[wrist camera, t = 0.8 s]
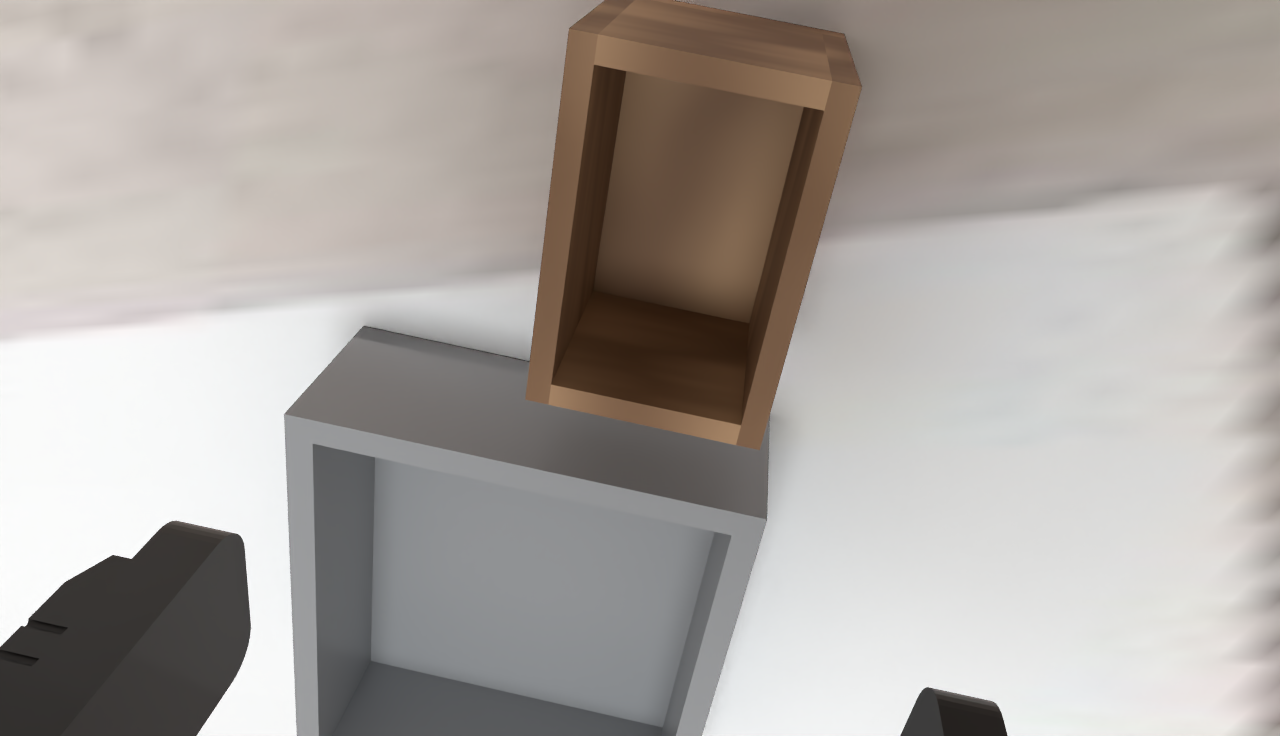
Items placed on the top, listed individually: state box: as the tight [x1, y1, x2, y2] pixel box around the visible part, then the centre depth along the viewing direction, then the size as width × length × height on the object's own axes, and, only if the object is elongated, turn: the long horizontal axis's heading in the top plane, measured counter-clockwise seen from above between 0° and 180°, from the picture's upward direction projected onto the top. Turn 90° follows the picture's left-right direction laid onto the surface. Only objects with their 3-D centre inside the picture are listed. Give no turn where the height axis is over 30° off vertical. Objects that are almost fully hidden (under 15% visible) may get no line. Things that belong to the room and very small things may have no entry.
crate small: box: [525, 0, 862, 450], centre depth 23 cm, size 6×9×6 cm, turn 171°
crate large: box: [284, 326, 770, 736], centre depth 31 cm, size 14×16×6 cm
